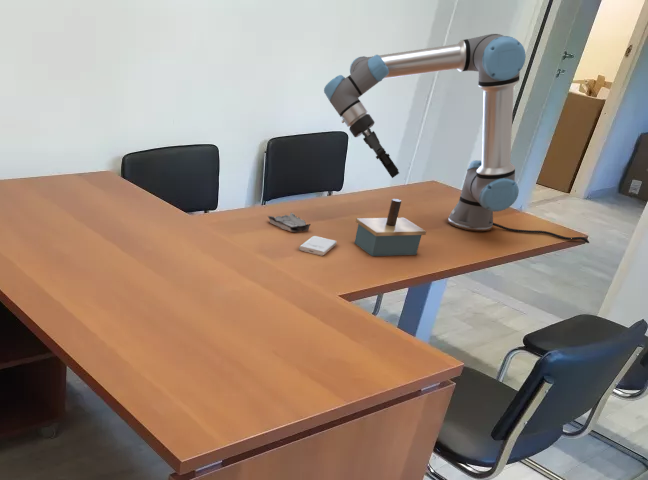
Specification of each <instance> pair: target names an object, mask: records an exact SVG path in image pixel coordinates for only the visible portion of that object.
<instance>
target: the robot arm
mask: <svg viewBox="0 0 648 480" xmlns="http://www.w3.org/2000/svg"><path fill="white" fill-rule="evenodd" d="M526 56H527V55H526V49H525V47H524V45H523V44H522V43H521V42H520V41H519V40H518V39H516V38H515V37H513V36H509V35H503V34H500V33H490V34H484V35H480V36H476V37H471V38H466V39H461V40H460V41H458V43H456V44H447V45H441V46H434V47H428V48H420V49H414V50H407V51H406V50H405V51H400V52H399V51H398V52H393V53H387V54H375V55H371V56H365V55H364V56H358V57H356V58H355V59H353V60H352V61H351V64H350V66H349V75H348V76H344V75H342V74H339V75H337V76H335V77H334V78H332V79H331V80H330V81H328V82H327V83H326V84H325V86H324V88H323V93H324V94H325V96H326V98H327V99H328V101H329V103H330V105H332V107H333V108H334V110H335V111H336V112H337V114H338V115H339V117H340V118H341V119H342V120H341V123H342V124H345V125H346V127H348V129H349V132H350V133H351V135H352V136H353V137H354V138H359V137H360V136H363V138H362V140H363V141H364V142H365V144H366V145H367V146H368V147H369V148H370V149H371V150H373V152H374V154H375V155H376V156H375V159H376V160H379V161H380V163H381V164H382V165H383V167H384V168H385V170H386V171H387V173H388V174H389V176H390V177H391V179H393V178H395V177H396V176H398V175H400V172H399V169H398V167H397V165H396V164H395V162H394V161H393V160H392V158H391V157H390V156H391V155H390V153H387V152H386V150H385V148H384V147H383V146H382V145H381V143H380V140H379V138H378V136H377V133H376V132H375V131H374V130H371V128H372V127H373V126H374V125H375V122H376V121H375V120H374V119H373V117H372V116H371V114H369V113H368V110H367V108H366V107H365V105H364V104H363V103H362V101H361V100H360V97H361V96H363V95H364V94H366V92H368V91H369V90H371V89H372V88H374V86H376V85H377V84H378V83H380V82H382V81H383V80H386V79H393V78H399V77H408V76H415V75H422V74H423V75H424V74H430V73H437V72H445V71H451V70H452V71H453V70H457V71H458V72H460V73H461V72H478V81H477V82H478V87H479V88H480V89H481V90H482V91H483V92H482V93H483V94H482V95H483V97H482V133H481V134H482V137H481V160H478V159H477V160H475V159H474V160H472V161H470V163H469V166H468V168H466V174H465V178H464V182H463V185H462V188H461V192H460V195H459V198H458V201H457V204H456V205H455V207H454V208H452V210H451V212H450V214H449V216H448V219H447V223H448V224H449V225H450V226H452V227H455V228H457V229H461V230H464V231H470V232H477V233H478V232H480V233H481V232H482V233H483V232H490V231H491V230H492V229H493V226H494V227H497V228H500V229H502V230H505V231H509V232H514V233H525V234H544V235H549V236H552V237H555V238H558V239H561V240H567V241H577V240H581V241H584V242H585V243H586V244H590V241H589V240H588V238H586V237H583V236H575V237H573V236H571V237H568V236H563V235H560V234H557V233H554V232H550V231H546V230H532V229H531V230H530V229H529V230H528V229H516V228H511V227H507V226H504V225H501V224H498V223H496V222H494V212H495V213H497V212H502V211H506V210H507V209H509V208H510V207H511V206H513V205H514V203H516V201H517V199H518V196H519V194H520V193H519V190H520V189H519V186H518V183H517V182H516V181H515V179H516V166H515V165H514V164H513V163H512V162H511V154H512V133H513V112H514V111H513V108H514V87H515V86H516V85H517V84H518V83H519V82H520V76H521V70H523V67H524V65H525V63H526ZM571 238H572V239H571Z"/></svg>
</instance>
